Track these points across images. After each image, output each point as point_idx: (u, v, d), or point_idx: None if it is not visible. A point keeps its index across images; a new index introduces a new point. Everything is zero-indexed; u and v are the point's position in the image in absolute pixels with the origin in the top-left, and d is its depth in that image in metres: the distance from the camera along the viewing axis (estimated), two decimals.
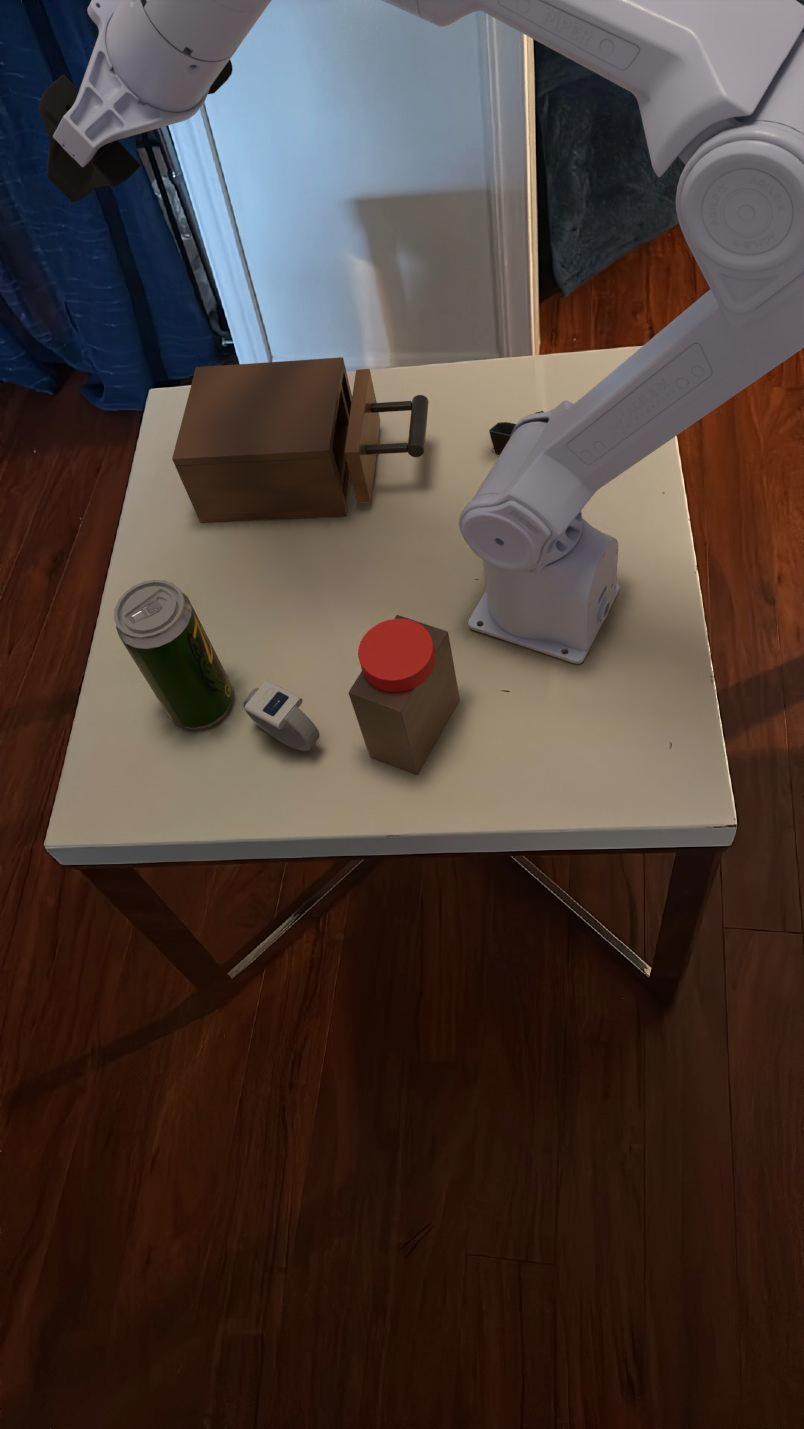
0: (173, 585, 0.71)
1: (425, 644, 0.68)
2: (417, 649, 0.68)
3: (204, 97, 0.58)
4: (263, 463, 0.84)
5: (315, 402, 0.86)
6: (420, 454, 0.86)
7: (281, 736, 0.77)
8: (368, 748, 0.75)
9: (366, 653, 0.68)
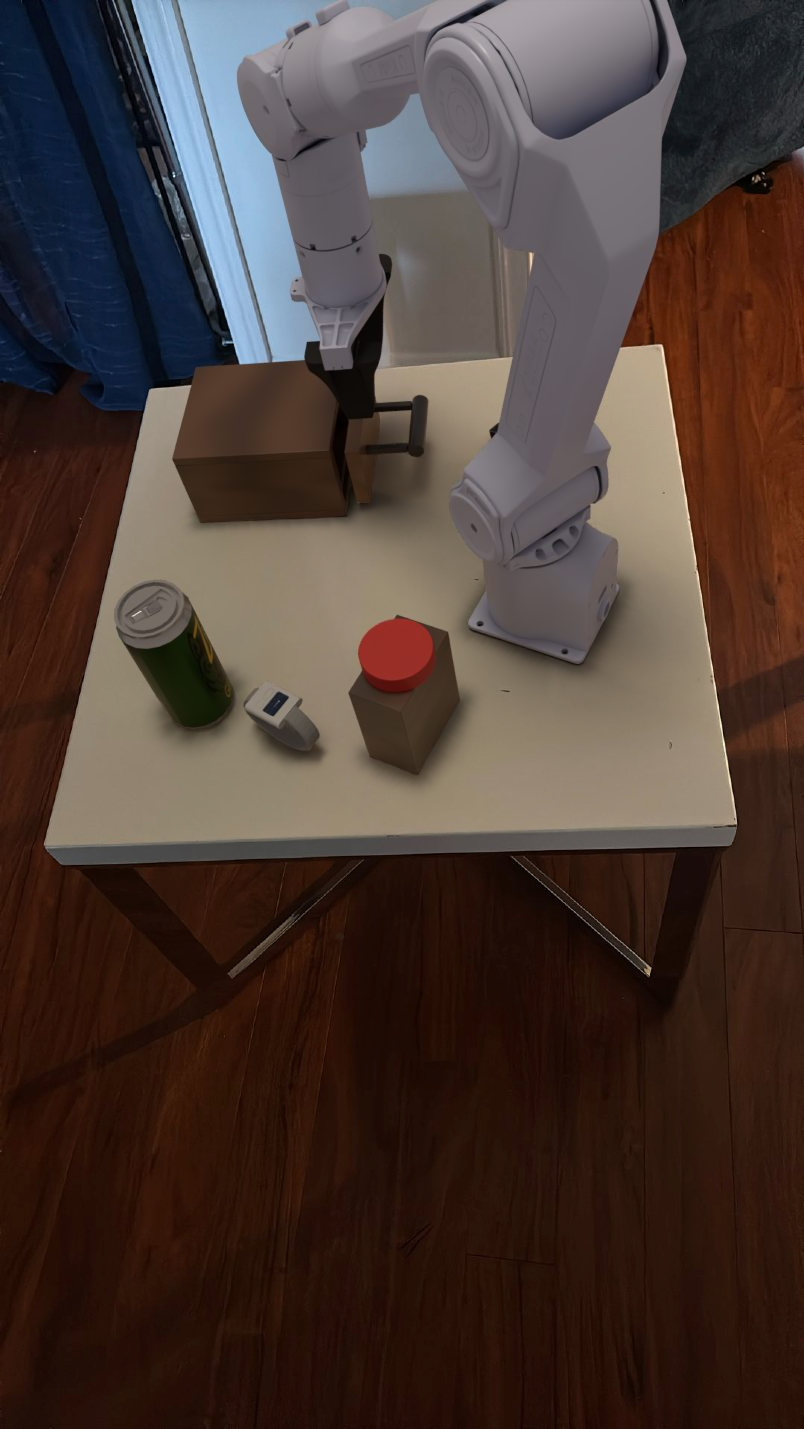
0: (173, 585, 0.71)
1: (425, 644, 0.68)
2: (417, 649, 0.68)
3: (383, 273, 0.76)
4: (263, 463, 0.84)
5: (315, 402, 0.86)
6: (420, 454, 0.86)
7: (281, 736, 0.77)
8: (368, 748, 0.75)
9: (366, 653, 0.68)
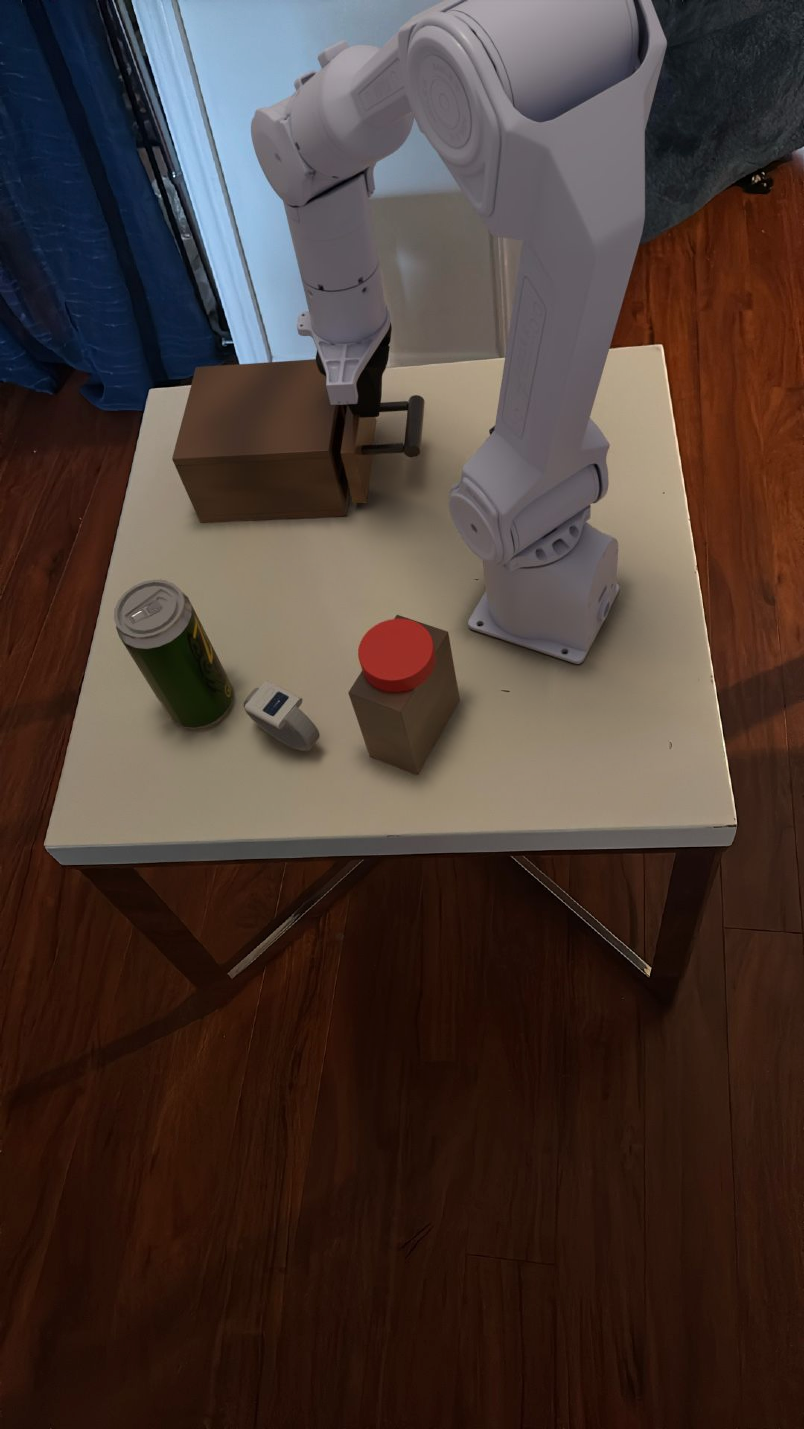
0: (173, 585, 0.71)
1: (425, 644, 0.68)
2: (417, 649, 0.68)
3: (387, 309, 0.78)
4: (263, 463, 0.84)
5: (315, 402, 0.86)
6: (416, 454, 0.86)
7: (281, 736, 0.77)
8: (368, 748, 0.75)
9: (366, 653, 0.68)
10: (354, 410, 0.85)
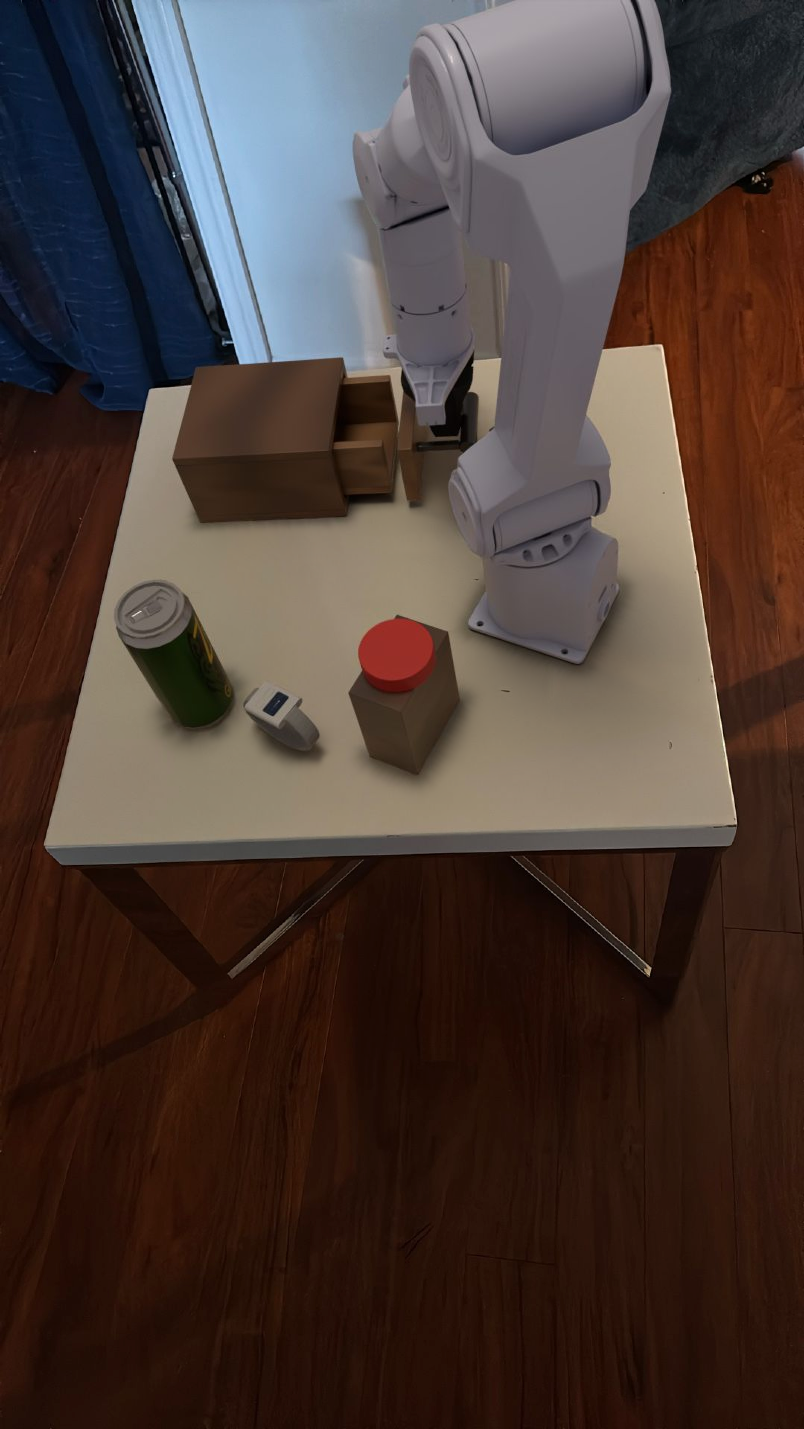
0: (173, 585, 0.71)
1: (425, 644, 0.68)
2: (417, 649, 0.68)
3: (472, 331, 0.79)
4: (263, 463, 0.84)
5: (315, 402, 0.86)
6: None
7: (281, 736, 0.77)
8: (368, 748, 0.75)
9: (366, 653, 0.68)
10: (434, 430, 0.86)
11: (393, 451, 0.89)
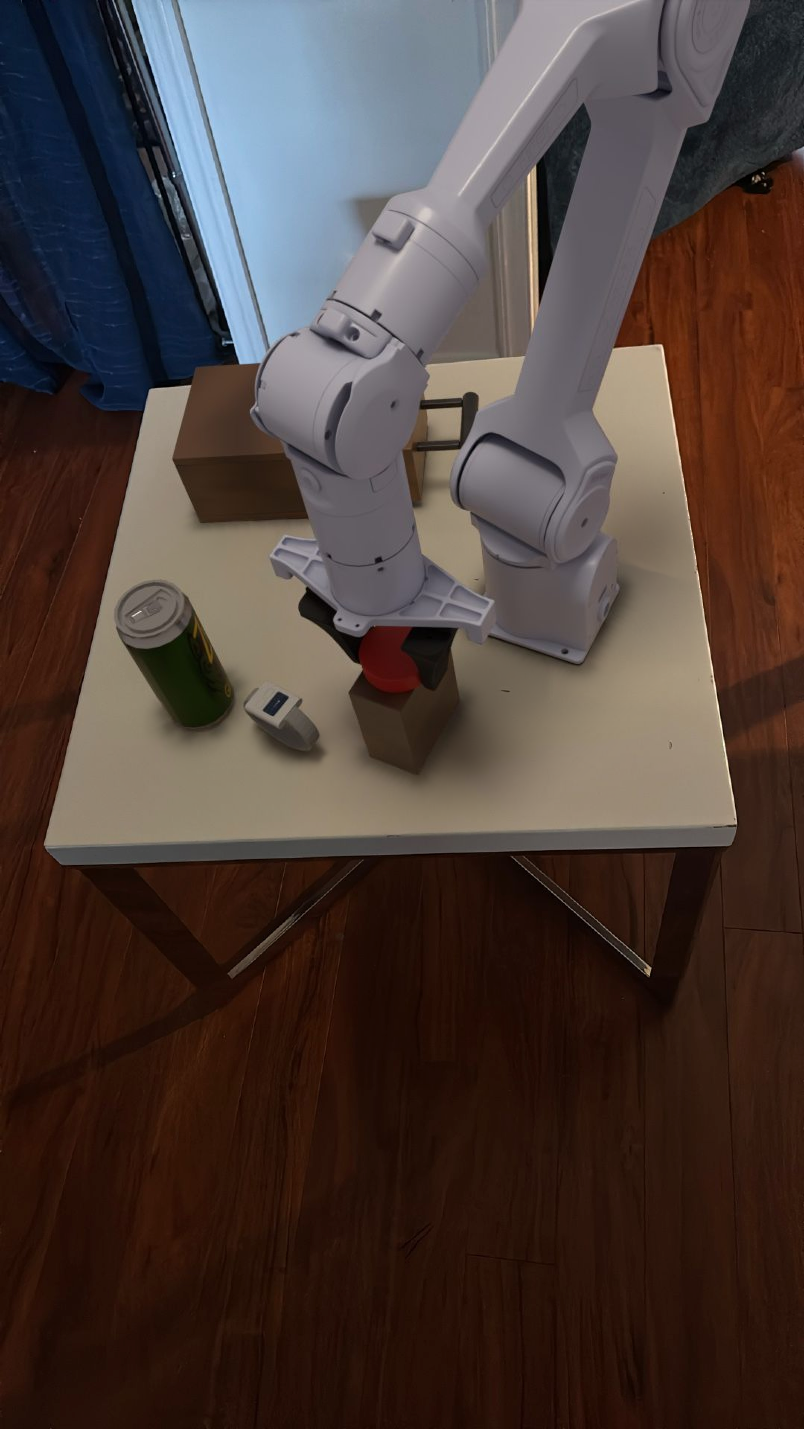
0: (173, 585, 0.71)
1: None
2: None
3: None
4: (263, 463, 0.84)
5: None
6: None
7: (281, 736, 0.77)
8: (368, 748, 0.75)
9: (367, 653, 0.68)
10: (435, 683, 0.68)
11: None
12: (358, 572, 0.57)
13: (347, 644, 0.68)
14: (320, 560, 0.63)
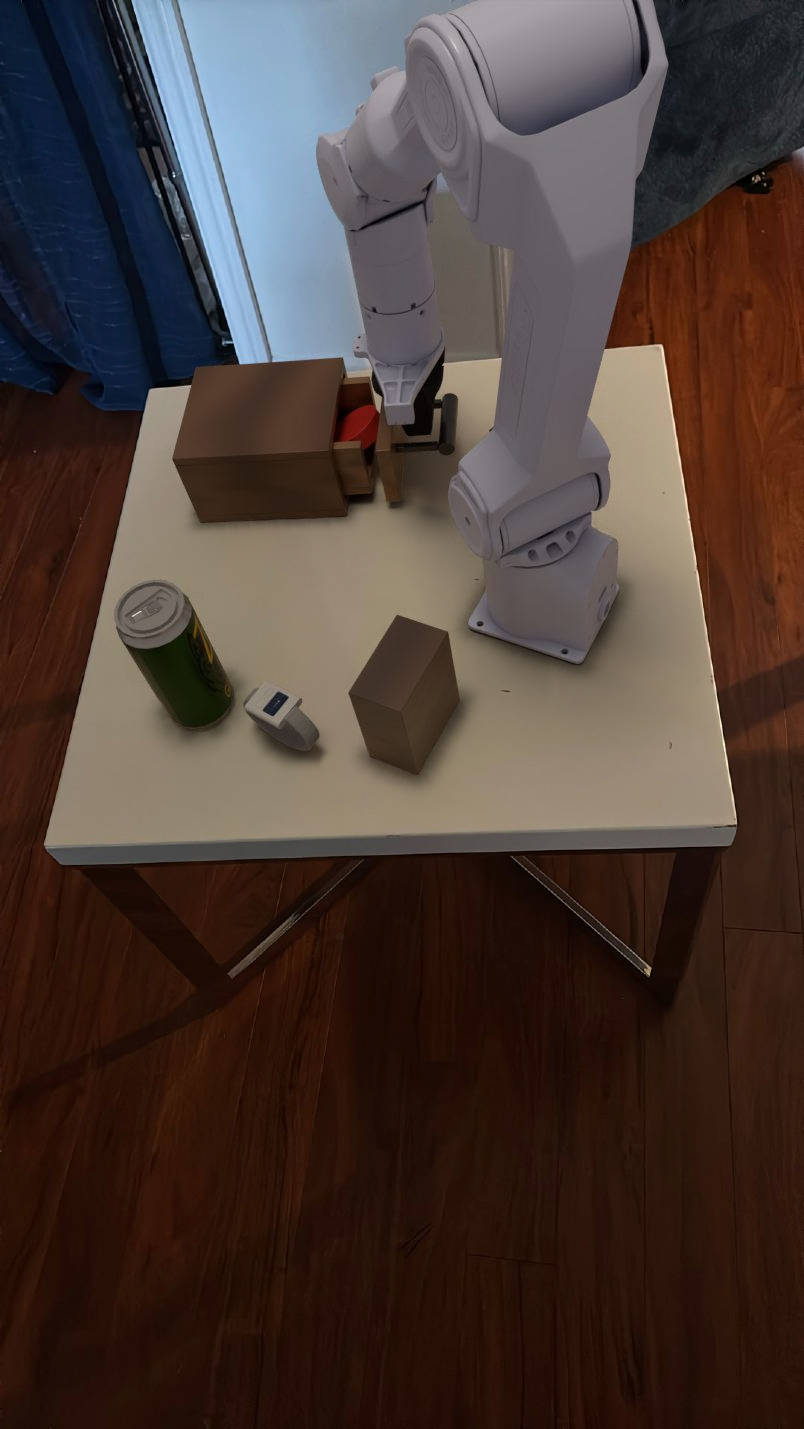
0: (173, 585, 0.71)
1: (370, 411, 0.88)
2: (365, 417, 0.87)
3: (442, 331, 0.80)
4: (263, 463, 0.84)
5: (315, 402, 0.86)
6: (451, 452, 0.85)
7: (281, 736, 0.77)
8: (368, 748, 0.75)
9: None
10: (407, 429, 0.86)
11: (373, 452, 0.90)
12: (360, 306, 0.76)
13: None
14: None
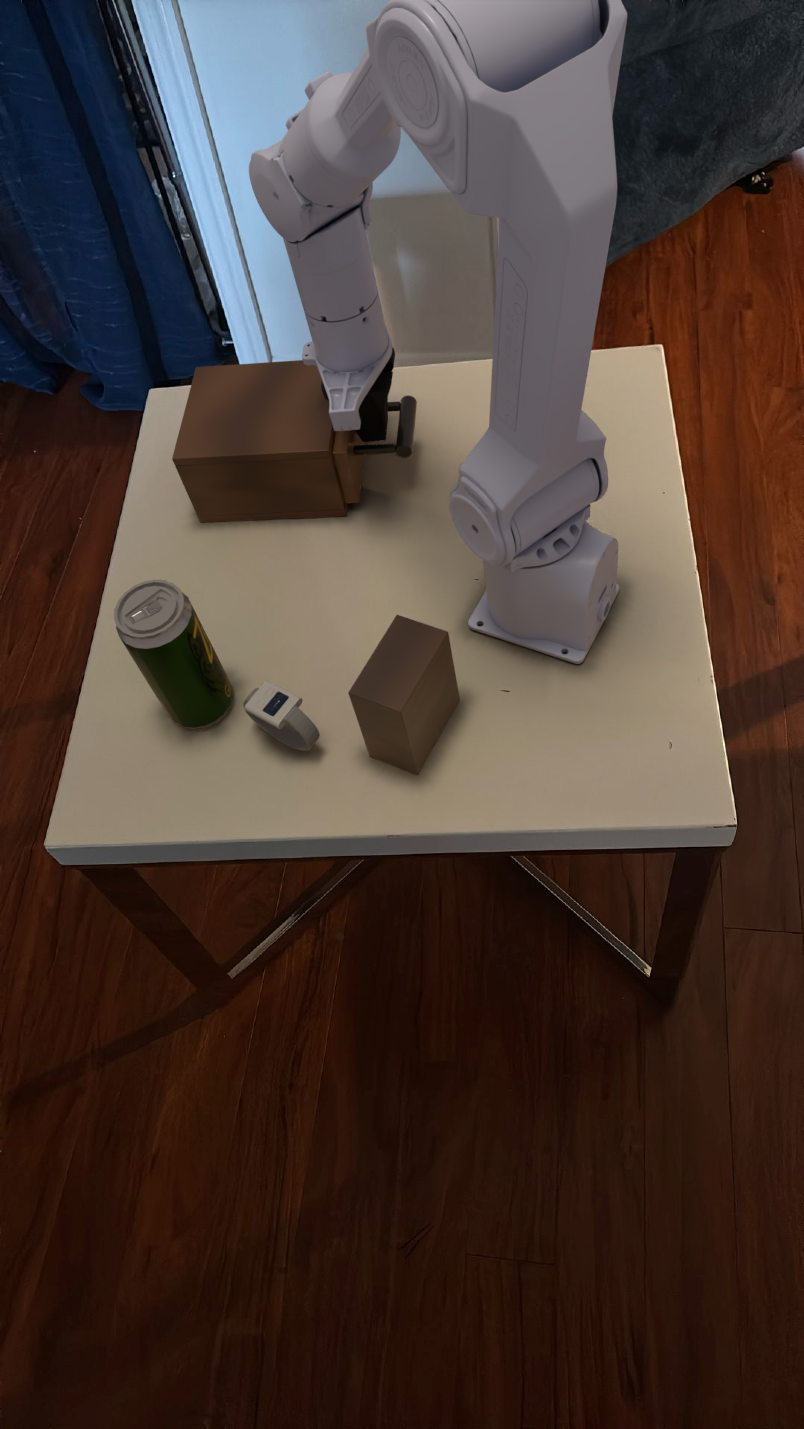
0: (173, 585, 0.71)
1: None
2: None
3: (389, 337, 0.80)
4: (263, 463, 0.84)
5: (315, 402, 0.86)
6: (408, 455, 0.86)
7: (281, 736, 0.77)
8: (368, 748, 0.75)
9: None
10: (361, 435, 0.87)
11: None
12: (305, 314, 0.77)
13: None
14: None
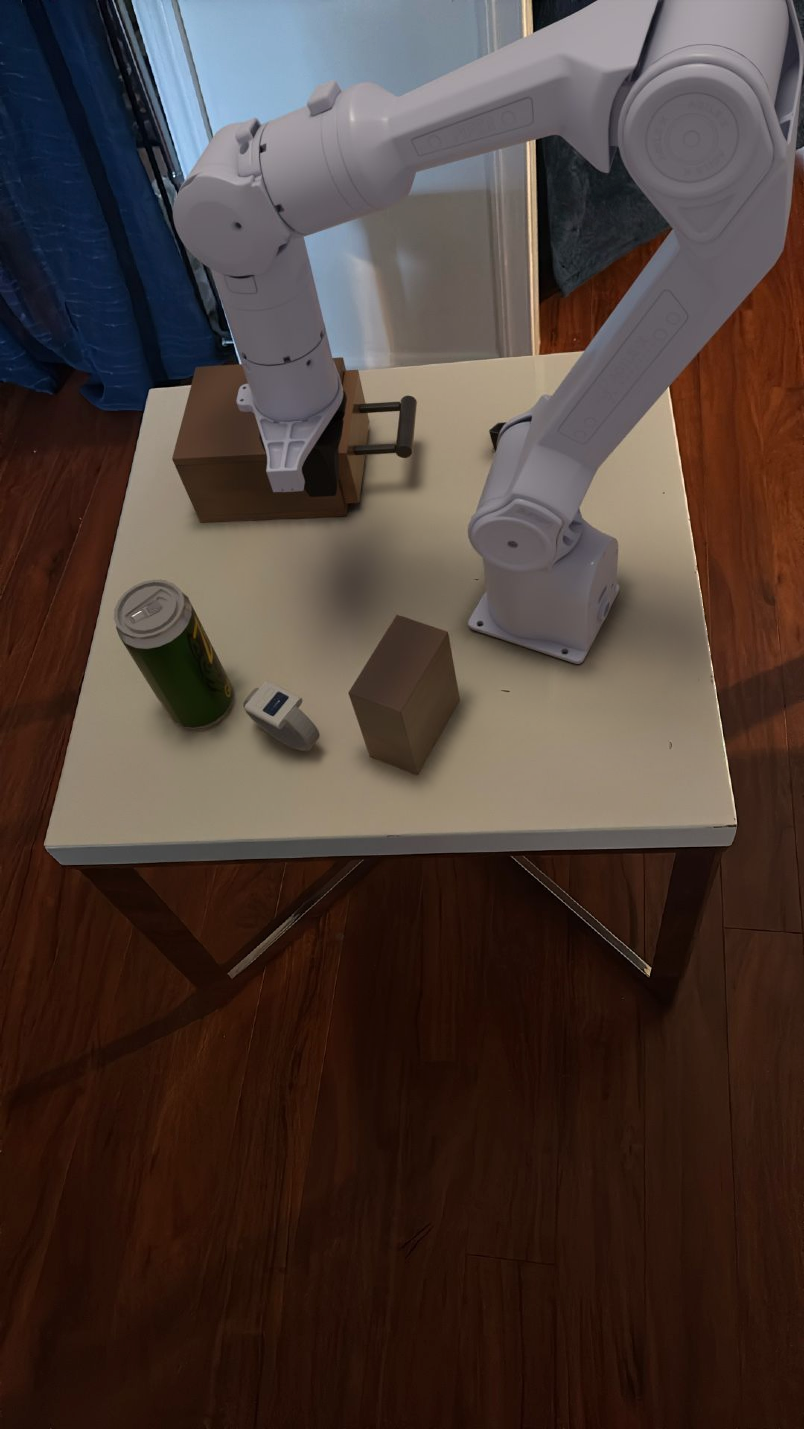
0: (173, 585, 0.71)
1: None
2: None
3: (339, 381, 0.69)
4: (263, 463, 0.84)
5: None
6: (408, 455, 0.86)
7: (281, 736, 0.77)
8: (368, 748, 0.75)
9: None
10: (308, 489, 0.75)
11: None
12: None
13: None
14: None
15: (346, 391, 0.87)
